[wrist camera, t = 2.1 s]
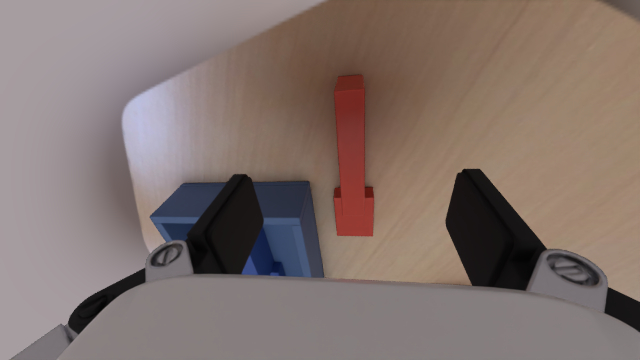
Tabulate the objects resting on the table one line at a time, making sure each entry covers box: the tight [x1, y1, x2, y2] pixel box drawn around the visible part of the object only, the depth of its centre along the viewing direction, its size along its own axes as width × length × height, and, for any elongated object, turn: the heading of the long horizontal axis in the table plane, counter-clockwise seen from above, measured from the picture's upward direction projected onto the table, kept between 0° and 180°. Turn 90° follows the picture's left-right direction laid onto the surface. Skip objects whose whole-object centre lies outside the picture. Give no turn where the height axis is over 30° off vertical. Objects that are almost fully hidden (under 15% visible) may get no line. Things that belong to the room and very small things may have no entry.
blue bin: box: [150, 181, 324, 278], centre depth 27 cm, size 20×14×5 cm
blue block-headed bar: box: [242, 227, 286, 276], centre depth 27 cm, size 15×4×4 cm, turn 6°
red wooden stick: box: [334, 75, 374, 236], centre depth 20 cm, size 15×4×4 cm, turn 6°
